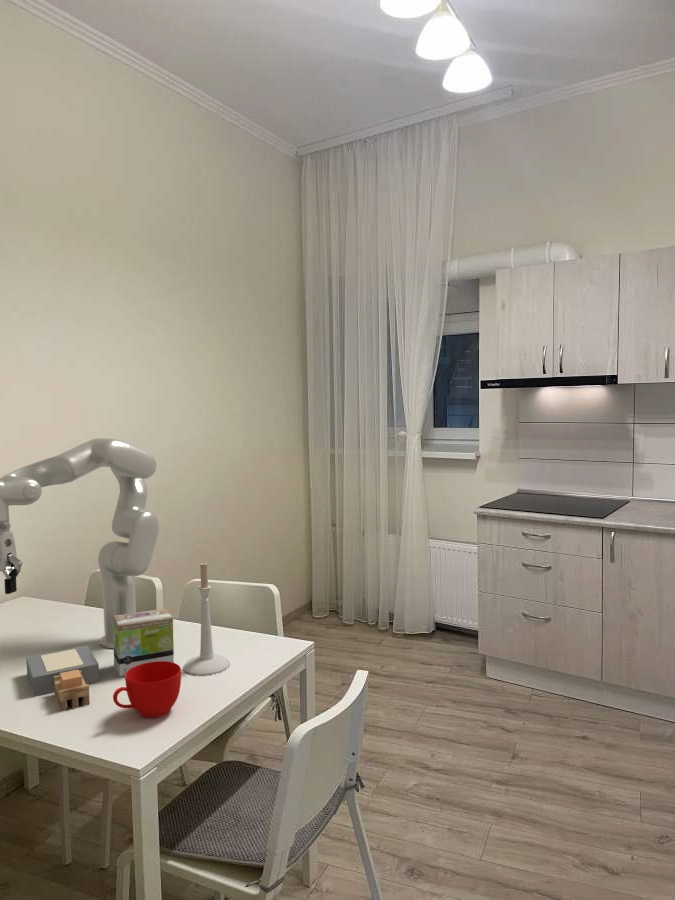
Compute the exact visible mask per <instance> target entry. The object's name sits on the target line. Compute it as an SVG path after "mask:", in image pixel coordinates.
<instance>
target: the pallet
mask: <svg viewBox="0 0 675 900" xmlns="http://www.w3.org/2000/svg"><path fill="white" fill-rule="evenodd" d="M79 672H80V674H81V676H82V672H81V671H79ZM53 693H54V696H55V698H56V701H57V705H58V707H59V710H60V711H61V712H65V711H68V701H69V703H70V707H71V708H72V709H78V708H79V707H80V705H79V700H80V701H81V703H82V705H83V706H84V707H85V705H86V706H90V705H89V704H91V703H90V702H91V701H90V684H87V685H86V683H85V681H84V679H83V677H82V686H78V687H73V688H69V689H64V690H63V688H62V686H61V684H60V675H57V676H54V692H53Z"/></svg>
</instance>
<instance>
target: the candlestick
mask: <svg viewBox="0 0 675 900" xmlns="http://www.w3.org/2000/svg"><path fill="white" fill-rule="evenodd" d="M199 566H200V571H199V572H200V585H199V586H198V587H197V588H198V589H199V590H200V591H199V593H200V595H201V600H200V601H201V608H200V616H201V617H200V650H199V651H200V653H199V655H197V656H194V657H191V658H190V659H189V660H187V661H186V662H185V663H184V664H183V671H184V672H185V673H186V672H187V673H186V674H188V673H189V674H188V675H190V674H192V675H191V676H195V675H199V676H198V677H206V675H209V676H213V675H212V674H215V675H217V674H216V673H218V674H221V673H223V672H222V671H224V670H225V671H227V670H228V669H229V668H230V667H231V661H230V660H229V658H227V657H226V656H224V655H221V654H216V653H214V648H213V637H212V636H213V635H212V625H211V624H212V623H211V613H210V602H209V601H210V599H209V598H208V597H209V594H210V589H211V588H212V586H211V585H209V574H208V573H209V570H208V566H209V565H208V563H207V562H201V563H200V565H199ZM229 666H230V667H229ZM227 668H228V669H227ZM226 669H227V670H226ZM225 671H224V672H225ZM220 672H221V673H220Z"/></svg>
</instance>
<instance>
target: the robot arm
mask: <svg viewBox="0 0 675 900" xmlns="http://www.w3.org/2000/svg"><path fill="white" fill-rule="evenodd" d="M102 467H104V468H105V467H106V468H110V470H111V472H112V474H113V475H114V476H115V479H116V480H117V482H118V486H119V492H118V493H119V495H118V499H117V503H116V506H115V511H114V514H113V518H112V521H111V529H112V530H111V531H112V533H113V534H114V535H116V536H118V537H119V538H123V539H128V542H125V541H120V540H119V541H117V540H116V541H115V540H113V541H110V542H109V541H108V542H107V543H105V544H104V545H103V546H102V547H101V548H100V550H99V553H98V558H97V562H98V566H99V571H100V576H101V582H102V602H103V624H104V636H101V638H100V639H99V645H100V646H101V647H103V648H106V649H114V643H113V616H115V615H122V614H129V613H136V612H137V610H136V609H137V608H136V585H135V579H134V577H140V576H142V575H143V574H145V573H146V572H147V570H148V569H149V567H150V565H151V562H152V559H153V554H154V551H155V548H156V547H155V546H156V543H157V538H158V535H159V530H160V526H159V524H160V523H159V519H158V517H157V516H156V514H155V513H154V512H153V511H151V510H148V509H146V505H147V499H148V486H147V484H146V481H145V480H146V479H150V478H151V477H152V476H153V475H154V474H155V472H156V471H157V461H156V459H155V457H154V455H152V454H151V453H150V452H148V451H146V450H143V449H141V448H139V447H137V446H134V445H132V444H130V443H127V442H124V441H122V440H120V439H119V440H118V439H116V438H103V437H102V438H101V437H100V438H93V439H90V440H88V441H86V442H83V443H81V444H80V445H77V446H75V447H73V448H71V449H69V450H66V451H64V452H62V453H60V454H57V455H55V456H52V457H48V458H45V459H44V460H43V459H42V460H40V461H37V462H33V463H31V464H28V465H25V466H22V467H20V468H18V469H16V470H13V471H12V472H10V473H7V474H5V475H3V476H1V477H0V572H2V573H3V575H4V576H5V578H4V593H5V594H4V595H10V594H13V593H15V592H17V590H18V589H17V577H18V576H19V574H20V572H21V569H22V566H23V561H22V560H20V559H19V558H18V557H17V555H18V554H17V548H16V543H15V538H14V535H13V532H12V531H11V530H10V529H11V524H10V511H9V510H10V509H9V506H28V505H29V506H30V505H31V504H34V503H36V502H37V501H38V500H39V499H40V497H41V495H42V491H43V490H42V488H44V487H50V486H57V485H64V484H67V483H72V482H73V481H76V480H78V479H80V478H81V477H84V476H85V475H88V474H89V473H91V472H94V471H96V470H98V469H100V468H102Z"/></svg>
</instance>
